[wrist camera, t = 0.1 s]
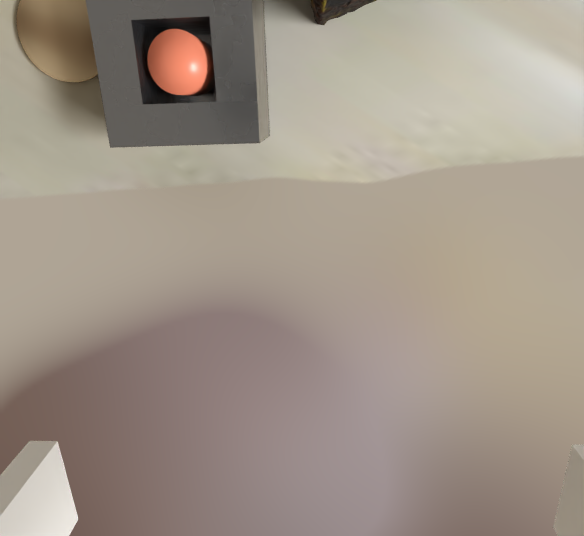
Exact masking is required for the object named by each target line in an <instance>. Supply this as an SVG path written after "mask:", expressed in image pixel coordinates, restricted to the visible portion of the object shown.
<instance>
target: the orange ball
mask: <svg viewBox="0 0 584 536" xmlns="http://www.w3.org/2000/svg"><path fill="white" fill-rule="evenodd" d="M147 61H148V68H149V71H150V74H151V76H152V78H153V80H154V81H155V82H156V84H157V85H158V86H159V87H161V88H162V89H163V90H165V91H166V92H169V93H171V94H175V95H186V96H201V95H204V94H206V93H208V92H209V91H211V90H212V89H213V88H214V86H215V76H214V64H213V52H212V47H211V46H210V45H208V44H207V43H206V42H204V41H203V40H201V39H199V38H197V37H196V36H194V35H192V34H190V33H189V32H187V31H184V30H181V29H169V30H165V31H163V32H161V33H160V34H159V35H157V36H156V37H155V39H154V40H153V41H152V43H151V45H150V47H149V51H148V58H147Z"/></svg>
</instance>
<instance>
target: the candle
mask: <svg viewBox="0 0 584 536" xmlns="http://www.w3.org/2000/svg"><path fill="white" fill-rule="evenodd" d="M374 1H376V0H311V7H312V9H313V12H314V17H315V18H316V22H317V24H320V25H324V24H325V23H326V22H327V21H328V20H330V19H333V18H338V17H340V16H342V15H345V14H347V13H348V12H353V11H355V10H357V9H358V8H360V7H362V6H364V5H366V4H368V3H371V2H374Z"/></svg>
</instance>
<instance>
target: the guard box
mask: <svg viewBox="0 0 584 536" xmlns="http://www.w3.org/2000/svg"><path fill="white" fill-rule="evenodd" d="M86 6H87V12H88V18H89V24H90V30H91V36H92V42H93V48H94V54H95V60H96V66H97V72H98V78H99V84H100V89H101V95H102V101H103V107H104V113H105V119H106V125H107V131H108V137H109V143H110V147H143V146H176V145H209V144H242V143H260V142H262V141H263V140H265V139H266V138H268V137H269V136H270V129H269V108H268V87H267V66H266V45H265V24H264V3H263V0H86ZM169 29H181V30H184V31H187V32H189V33H190V34H192V35H194V36H196V37H197V38H199V39H201V40H203V41H204V42H206V43H207V44H208V45H210V46H211V47H212V52H213V64H214V76H215V86H214V88H213V89H212V90H211V91H209V92H208V93H206V94H204V95H201V96H186V95H175V94H171V93H169V92H166V91H165V90H163V89H162V88H161V87H159V86H158V85H157V84H156V82H155V81H154V80H153V78H152V76H151V74H150V71H149V68H148V61H147V58H148V51H149V47H150V45H151V43H152V41H153V40H154V39H155V37H156V36H157V35H159V34H160V33H161V32H163V31H165V30H169Z"/></svg>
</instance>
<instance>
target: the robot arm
mask: <svg viewBox="0 0 584 536" xmlns="http://www.w3.org/2000/svg"><path fill="white" fill-rule="evenodd" d="M77 520H78V516H77V513H76V509H75V505H74V501H73V498H72V494H71V490H70V486H69V483H68V479H67V475H66V471H65V468H64V464H63V460H62V456H61V453H60V449H59V445H58V442H57V441H29V442H28V443H27V445H26V446H25V447H24V448H23V449H22V450H21V452H20V453H19V454H18V455H17V456H16V458H15V459H14V460H13V461H12V462H11V463H10V465H9V466H8V467H7V468H6V469H5V470H4V472H3V473H2V474H1V475H0V536H69V534H70V533H71V531H72V529H73V527H74V526H75V524H76V522H77ZM554 529H555V531H556V533H557V535H558V536H584V445H572V447H571V451H570V456H569V461H568V465H567V469H566V473H565V478H564V482H563V487H562V491H561V495H560V500H559V504H558V509H557V513H556V518H555V522H554Z"/></svg>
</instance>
